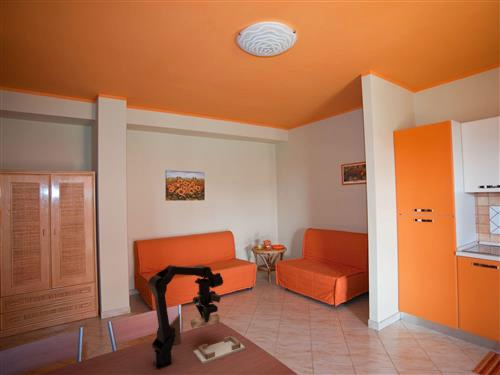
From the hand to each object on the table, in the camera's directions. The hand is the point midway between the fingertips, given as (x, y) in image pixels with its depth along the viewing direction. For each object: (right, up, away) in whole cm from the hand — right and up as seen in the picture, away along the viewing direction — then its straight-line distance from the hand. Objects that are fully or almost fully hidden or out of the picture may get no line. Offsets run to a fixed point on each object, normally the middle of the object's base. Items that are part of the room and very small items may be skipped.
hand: (205, 321), depth 150 cm
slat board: (+8, -11, -8) cm, 16 cm away
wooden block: (-18, -12, +1) cm, 22 cm away
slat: (0, -2, 0) cm, 2 cm away
